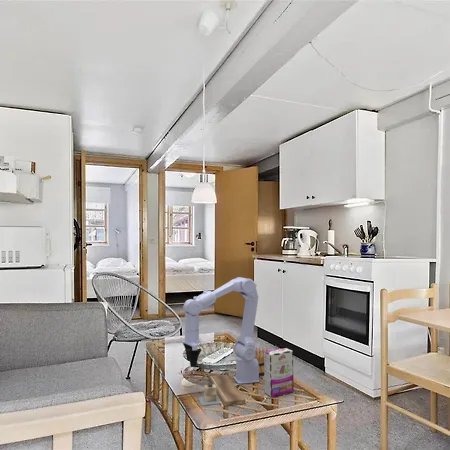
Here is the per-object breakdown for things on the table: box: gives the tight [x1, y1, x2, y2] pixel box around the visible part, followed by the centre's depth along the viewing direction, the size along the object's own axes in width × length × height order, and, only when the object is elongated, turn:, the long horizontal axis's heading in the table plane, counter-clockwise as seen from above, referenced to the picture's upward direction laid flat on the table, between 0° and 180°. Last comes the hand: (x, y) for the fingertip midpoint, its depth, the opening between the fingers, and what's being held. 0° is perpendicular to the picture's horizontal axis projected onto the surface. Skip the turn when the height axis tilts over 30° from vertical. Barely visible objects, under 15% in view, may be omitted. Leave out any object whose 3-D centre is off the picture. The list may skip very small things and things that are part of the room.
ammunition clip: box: [254, 345, 269, 377], centre depth 163 cm, size 11×2×12 cm, turn 112°
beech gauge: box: [203, 382, 217, 402], centre depth 135 cm, size 4×3×6 cm
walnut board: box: [208, 374, 247, 407], centre depth 144 cm, size 8×26×2 cm, turn 16°
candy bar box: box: [263, 347, 295, 398], centre depth 143 cm, size 11×5×16 cm, turn 117°
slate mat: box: [197, 396, 221, 407], centre depth 135 cm, size 7×7×1 cm
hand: (191, 363), depth 146 cm, fingers open, 7 cm apart
